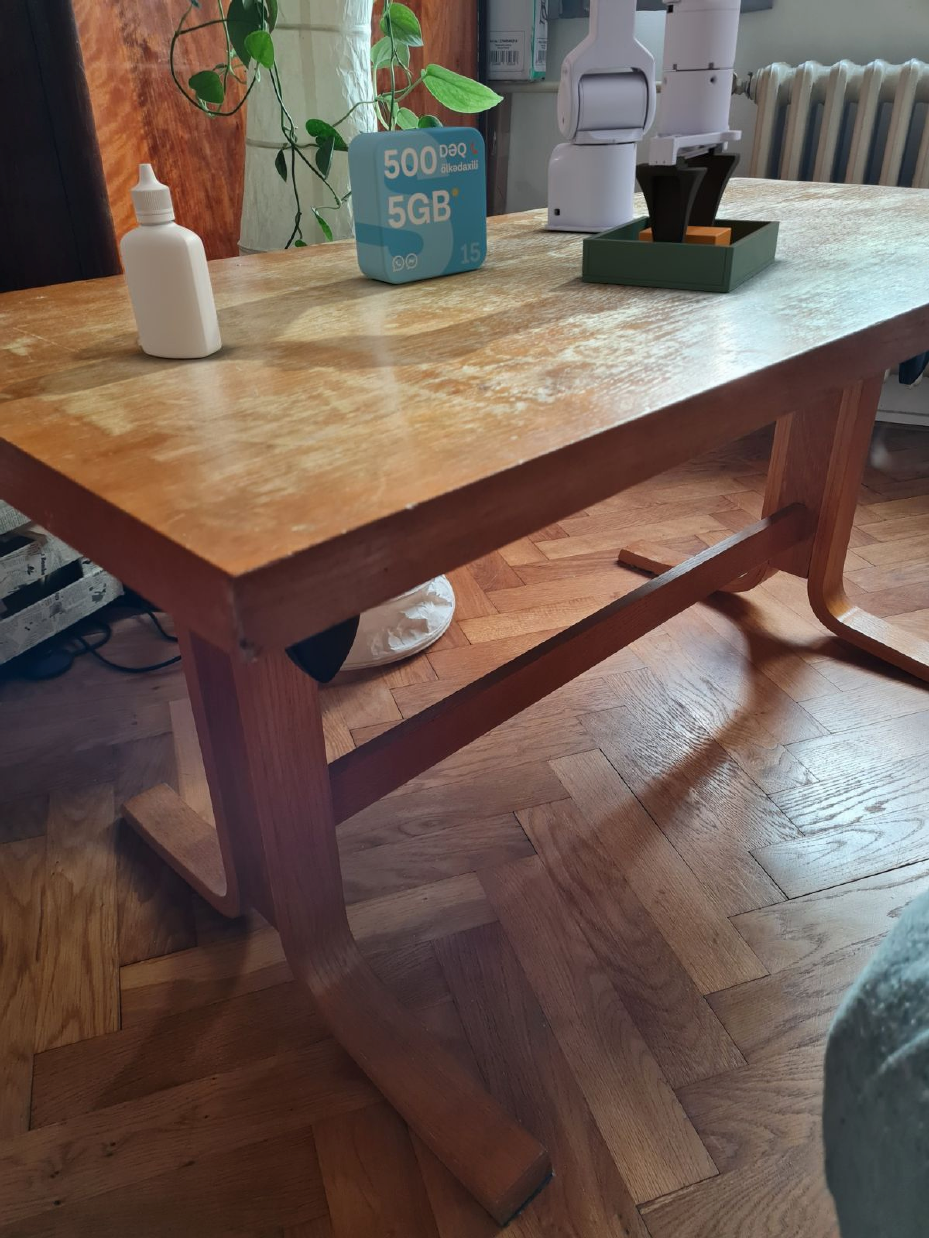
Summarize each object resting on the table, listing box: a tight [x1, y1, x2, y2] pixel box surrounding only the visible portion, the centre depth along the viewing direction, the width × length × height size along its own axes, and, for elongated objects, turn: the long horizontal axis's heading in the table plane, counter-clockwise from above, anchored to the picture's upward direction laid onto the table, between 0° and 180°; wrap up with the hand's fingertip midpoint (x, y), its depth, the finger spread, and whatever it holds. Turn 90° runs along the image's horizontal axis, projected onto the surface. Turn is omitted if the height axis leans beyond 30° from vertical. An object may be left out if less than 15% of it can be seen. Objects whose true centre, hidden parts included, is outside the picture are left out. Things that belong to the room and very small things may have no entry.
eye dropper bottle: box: [119, 163, 222, 359], centre depth 60 cm, size 4×6×12 cm
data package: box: [347, 126, 488, 285], centre depth 81 cm, size 12×4×12 cm, turn 128°
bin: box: [581, 215, 780, 294], centre depth 80 cm, size 13×14×4 cm
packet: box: [639, 226, 731, 246], centre depth 80 cm, size 7×4×3 cm, turn 59°
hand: (682, 248), depth 80 cm, fingers open, 7 cm apart
